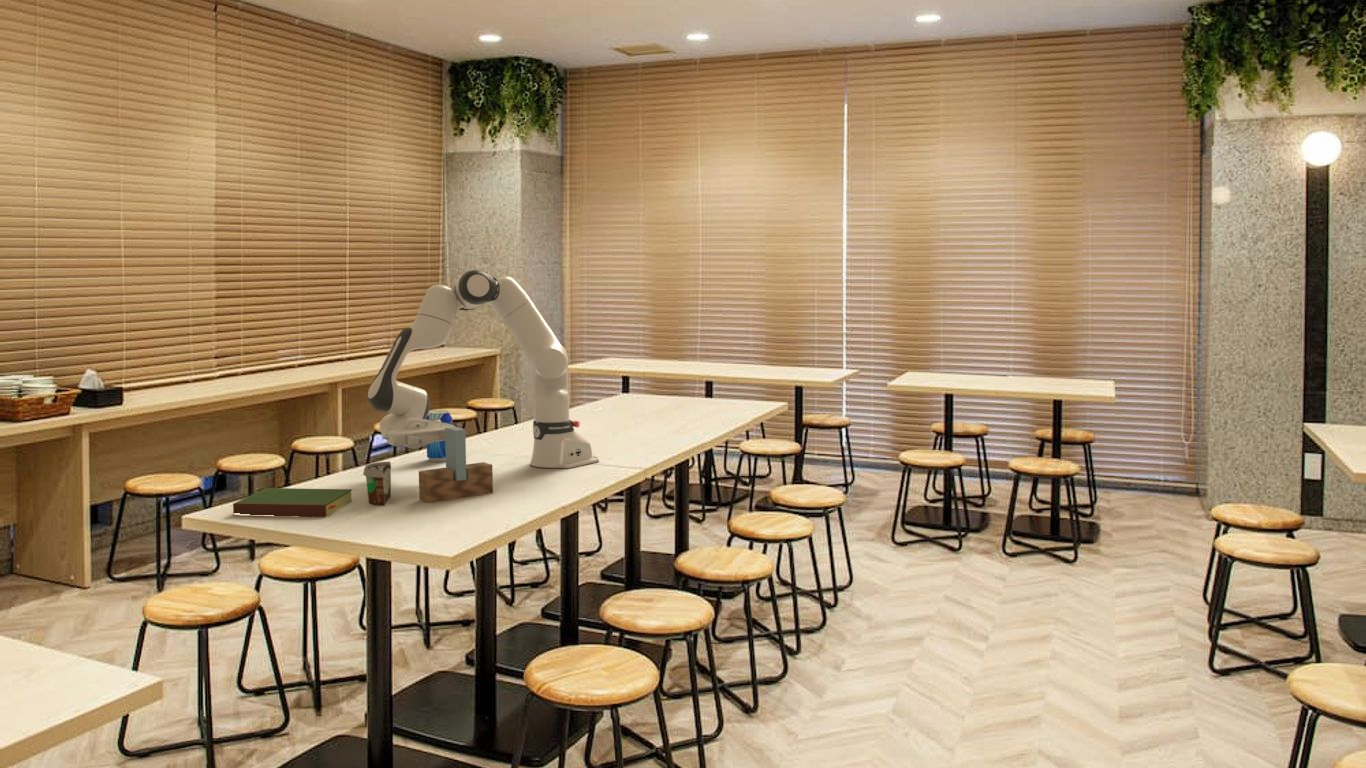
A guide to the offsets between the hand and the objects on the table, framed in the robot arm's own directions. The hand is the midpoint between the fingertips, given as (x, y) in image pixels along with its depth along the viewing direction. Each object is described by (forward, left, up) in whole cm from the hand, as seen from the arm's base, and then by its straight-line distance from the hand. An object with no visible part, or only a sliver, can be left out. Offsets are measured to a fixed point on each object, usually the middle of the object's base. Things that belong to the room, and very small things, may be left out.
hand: (435, 438), depth 307 cm
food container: (+20, +4, -15) cm, 25 cm away
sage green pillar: (0, +12, -10) cm, 15 cm away
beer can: (-22, -40, -15) cm, 48 cm away
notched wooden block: (0, +12, -15) cm, 19 cm away
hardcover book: (+39, -3, -15) cm, 42 cm away
